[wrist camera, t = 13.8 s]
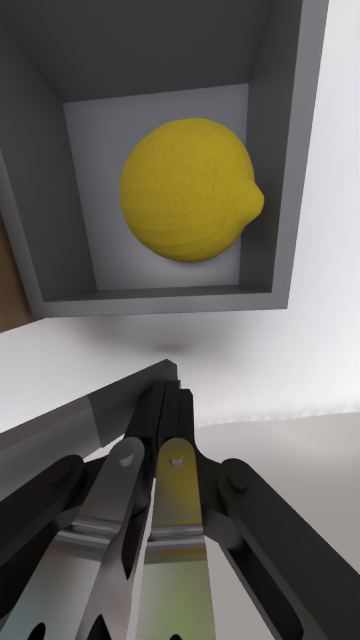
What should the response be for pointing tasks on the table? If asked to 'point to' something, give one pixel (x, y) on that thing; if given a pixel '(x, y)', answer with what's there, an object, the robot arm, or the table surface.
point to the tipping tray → (74, 427)
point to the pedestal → (11, 288)
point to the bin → (133, 126)
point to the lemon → (189, 190)
